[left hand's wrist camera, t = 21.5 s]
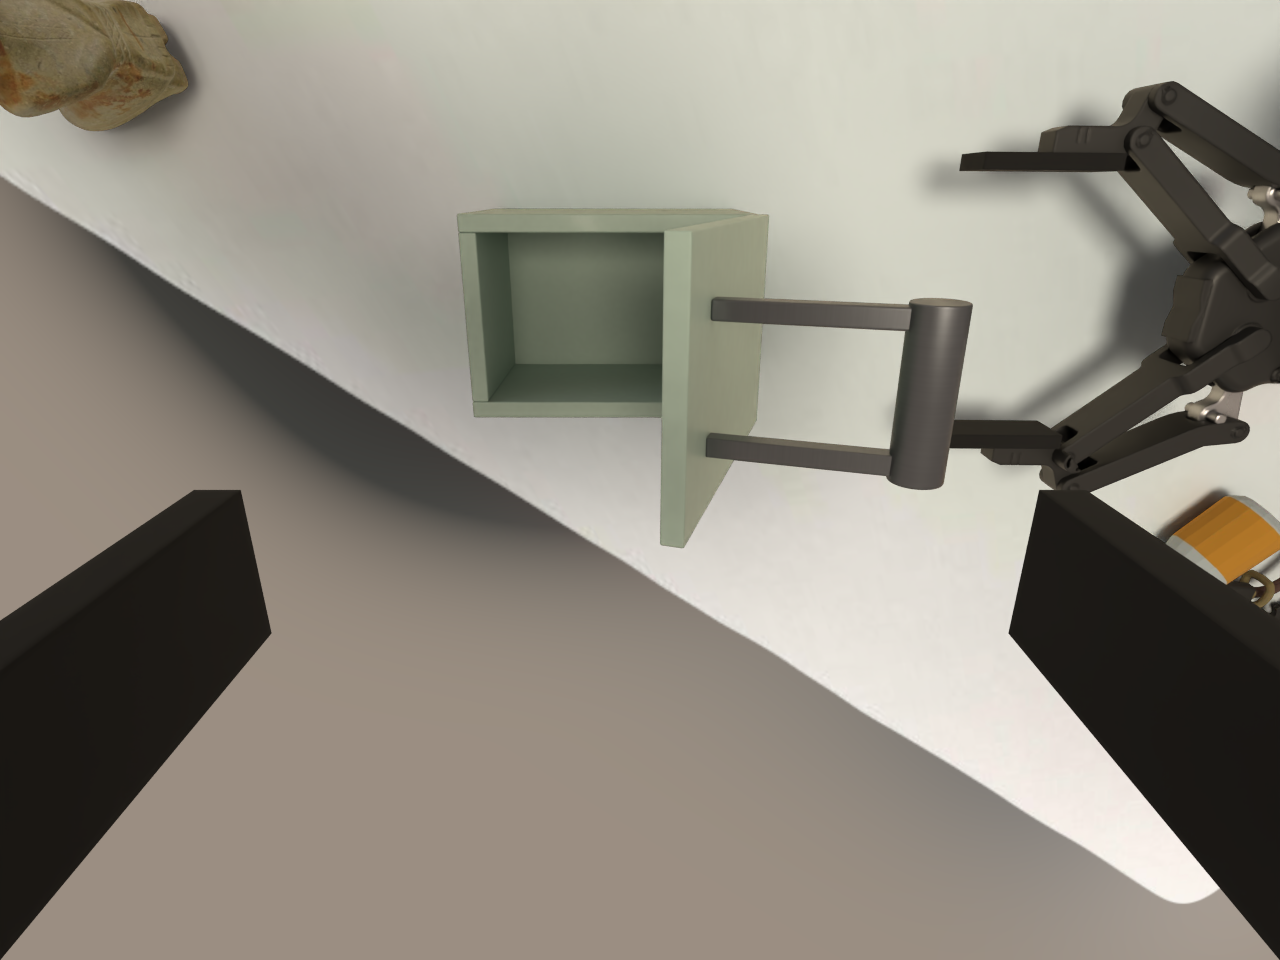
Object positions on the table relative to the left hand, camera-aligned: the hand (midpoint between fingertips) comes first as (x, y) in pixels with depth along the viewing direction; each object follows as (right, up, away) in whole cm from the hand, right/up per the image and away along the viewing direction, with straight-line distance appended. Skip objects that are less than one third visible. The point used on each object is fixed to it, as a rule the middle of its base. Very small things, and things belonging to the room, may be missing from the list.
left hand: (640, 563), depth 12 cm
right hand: (+16, +10, +25) cm, 31 cm away
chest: (-2, +12, +32) cm, 34 cm away
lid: (+3, +6, +16) cm, 17 cm away
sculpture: (-27, +23, +27) cm, 45 cm away
